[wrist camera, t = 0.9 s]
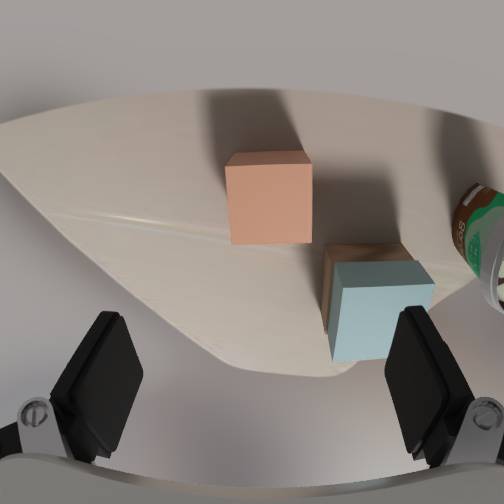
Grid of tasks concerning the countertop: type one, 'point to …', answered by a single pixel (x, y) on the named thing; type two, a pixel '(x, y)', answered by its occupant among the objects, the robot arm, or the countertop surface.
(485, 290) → the food container
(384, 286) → the tower top block
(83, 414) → the robot arm
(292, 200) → the terracotta cube
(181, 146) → the countertop surface
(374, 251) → the tower base block
